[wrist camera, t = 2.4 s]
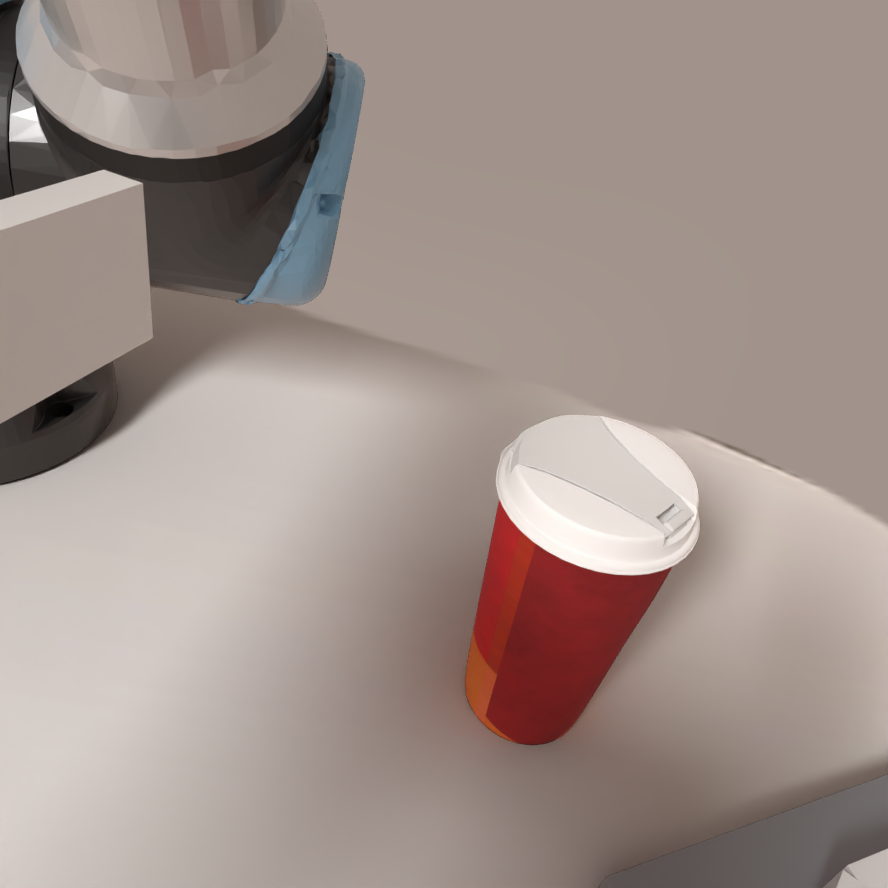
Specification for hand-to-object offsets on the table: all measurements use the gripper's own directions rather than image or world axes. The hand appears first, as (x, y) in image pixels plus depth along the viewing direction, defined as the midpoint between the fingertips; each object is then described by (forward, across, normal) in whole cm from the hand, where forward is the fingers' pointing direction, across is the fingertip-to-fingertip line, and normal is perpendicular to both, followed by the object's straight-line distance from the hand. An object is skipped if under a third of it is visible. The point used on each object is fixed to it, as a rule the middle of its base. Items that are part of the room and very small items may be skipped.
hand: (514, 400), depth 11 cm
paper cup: (+15, +1, -24) cm, 29 cm away
